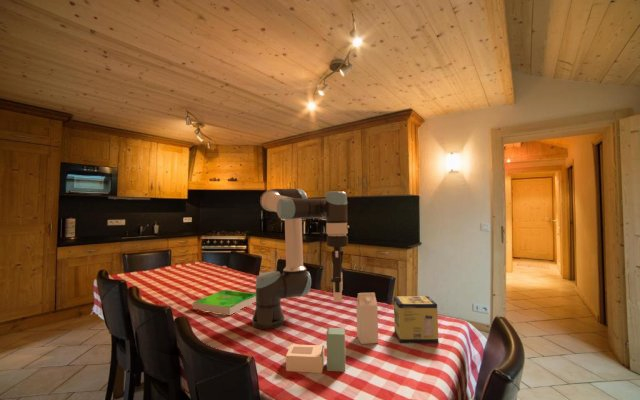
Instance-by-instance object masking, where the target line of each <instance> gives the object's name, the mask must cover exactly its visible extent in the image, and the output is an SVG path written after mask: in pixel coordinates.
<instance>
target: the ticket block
mask: <svg viewBox="0 0 640 400" xmlns="http://www.w3.org/2000/svg"><path fill="white" fill-rule="evenodd" d="M324 365H325V345H316V344H315V345H314V344H298V343H297V344H295V343H292V344H290V346H289V347H288V351H287V352H286V355H285V370H286V372H298V373H299V372H301V373H317V374H319V373H320V374H322V373H323V369H324Z"/></svg>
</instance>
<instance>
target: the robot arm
mask: <svg viewBox="0 0 640 400" xmlns="http://www.w3.org/2000/svg"><path fill="white" fill-rule="evenodd" d="M347 196H348V195H347V193H346V192H345V191H344V190H343V191H341V190H340V191H339V190H336V191H334V190H333V191H327V192H326V194H325V198H308V195H307V192H305V190H303V189H298V188H271V189H268V190H266V191H264V192H263V193H262V195H261V196H260V197H259V198H260V200H259V203H260V206H261V208H262V209H263V210H265V211H268V212H274V213H276V214H277V216H278V218H279V219H281V220H284V235H285V236H284V237H285V239H284V240H285V267H284V268H283V271H282V273H281V272H280V271H278V270H275V271H274V270H273V271H268V272H263V273H260V274H259V275H257V277H256V279H255V287H254V288H255V293H256V303H255V309H254V313H253V316H252V319H251V320H252V321H251V322H252V323H251V324H252V326H253V327H254V328H256V329H261V330H270V329H275V328H279V327H281V326H283V324H284V323H285V315H284V311H283V309H282V305H281V302H282V301H281V300H283V299H289V298H290V299H291V298H298V297H299V298H300V297H304V296H306V295H308V294H309V293H310V290H311V286H312V276H311V274H310V271H307V267H306V266H305V265H304V252H303V251H304V250H303V246H304V245H303V224H302V222H303V220H302V219H326V220H325V221H326V223H325V225H326V228H325V230H326V232H325V233H326V235H327V236H326V246H327V247H329V248H333V250H332V251H331V258H332V261H331V263H332V267H333V268H332V271H333V273H332V279H331V280H330V282H331V283H332V289H333V290H332V292H333V293H332V295H333V297H332V298H333V303H342V302H343V293H342V292H343V273H344V272H345V270H344V268H343V258H344V250H343V249H342V247H343V248H344V247H345V248H346V247H348V246H349V236H348V235H347V234H348V233H349V231H348V229H349V228H350V225H348V197H347Z"/></svg>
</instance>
